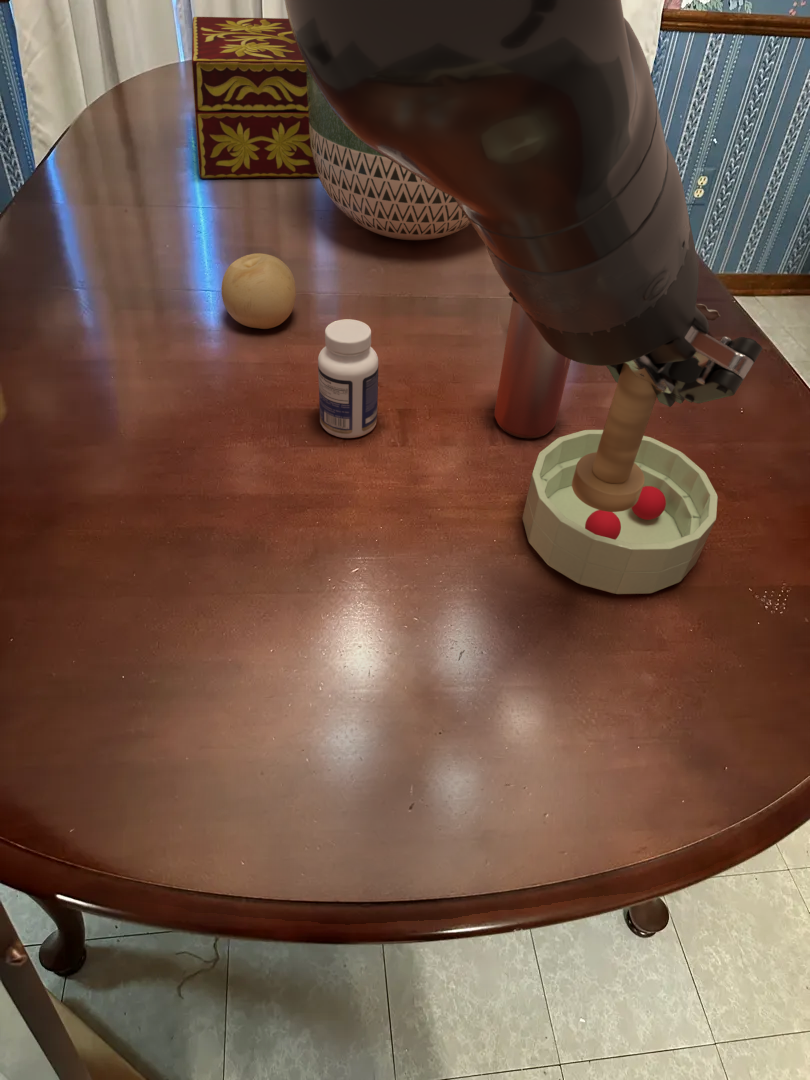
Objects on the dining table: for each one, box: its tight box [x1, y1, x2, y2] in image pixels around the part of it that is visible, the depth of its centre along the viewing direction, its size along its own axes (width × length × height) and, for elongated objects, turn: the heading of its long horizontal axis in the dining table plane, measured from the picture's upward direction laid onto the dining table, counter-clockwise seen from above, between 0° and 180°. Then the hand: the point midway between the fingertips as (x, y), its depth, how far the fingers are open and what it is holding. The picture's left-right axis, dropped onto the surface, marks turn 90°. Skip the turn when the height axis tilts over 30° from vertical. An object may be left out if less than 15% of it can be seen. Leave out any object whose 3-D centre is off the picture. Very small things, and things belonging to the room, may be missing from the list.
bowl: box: [522, 429, 719, 595], centre depth 63 cm, size 14×14×6 cm
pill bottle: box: [317, 318, 379, 439], centre depth 71 cm, size 5×5×10 cm
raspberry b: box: [631, 486, 666, 520], centre depth 65 cm, size 3×3×3 cm
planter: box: [306, 66, 472, 241], centre depth 97 cm, size 27×27×27 cm
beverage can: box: [493, 299, 572, 440], centre depth 71 cm, size 6×6×15 cm
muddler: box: [572, 363, 658, 512], centre depth 46 cm, size 4×4×15 cm
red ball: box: [585, 510, 621, 540], centre depth 63 cm, size 3×3×3 cm
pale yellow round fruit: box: [220, 252, 297, 330], centre depth 85 cm, size 8×8×8 cm
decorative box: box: [191, 16, 319, 180], centre depth 120 cm, size 28×19×15 cm
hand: (652, 379), depth 48 cm, fingers closed on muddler, 2 cm apart
